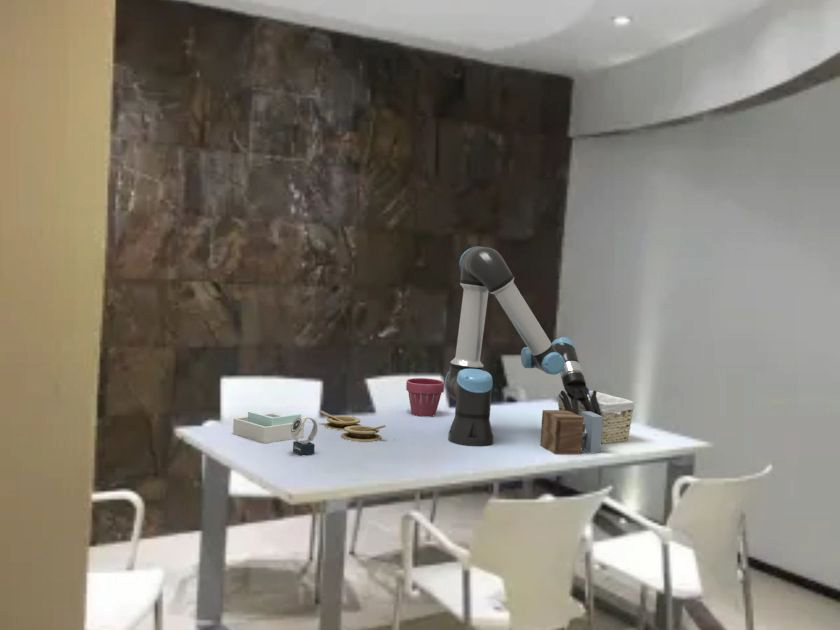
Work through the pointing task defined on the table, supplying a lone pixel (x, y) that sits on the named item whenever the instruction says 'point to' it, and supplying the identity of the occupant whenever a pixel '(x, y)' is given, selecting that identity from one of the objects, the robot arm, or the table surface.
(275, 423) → the mint green square box
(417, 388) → the plant pot
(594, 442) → the grey rectangular block
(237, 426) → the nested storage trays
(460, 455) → the table surface
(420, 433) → the table surface
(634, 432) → the table surface
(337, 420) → the tableware set
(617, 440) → the storage basket
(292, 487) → the table surface
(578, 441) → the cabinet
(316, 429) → the watch
